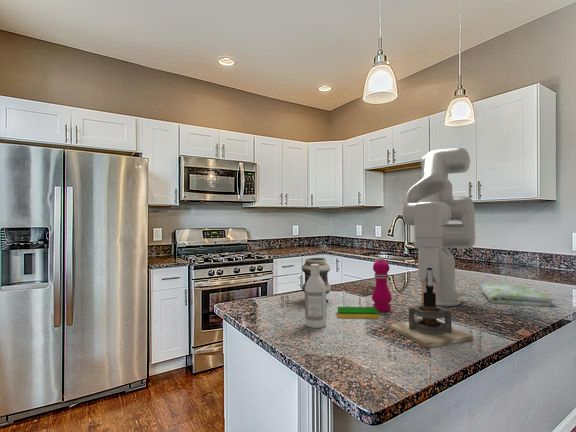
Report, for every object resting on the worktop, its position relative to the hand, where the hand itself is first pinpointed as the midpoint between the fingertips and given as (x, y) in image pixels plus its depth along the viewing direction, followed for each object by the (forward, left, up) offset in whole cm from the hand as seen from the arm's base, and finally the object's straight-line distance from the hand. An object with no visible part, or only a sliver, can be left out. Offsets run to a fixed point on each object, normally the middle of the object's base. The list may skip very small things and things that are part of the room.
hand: (429, 303), depth 97 cm
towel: (-59, -21, -10) cm, 63 cm away
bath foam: (+29, -19, -9) cm, 36 cm away
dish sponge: (+11, -24, -10) cm, 28 cm away
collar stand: (0, 0, -9) cm, 9 cm away
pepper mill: (-1, -27, -9) cm, 29 cm away
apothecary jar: (+18, -46, -9) cm, 50 cm away
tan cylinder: (0, 0, -7) cm, 7 cm away
